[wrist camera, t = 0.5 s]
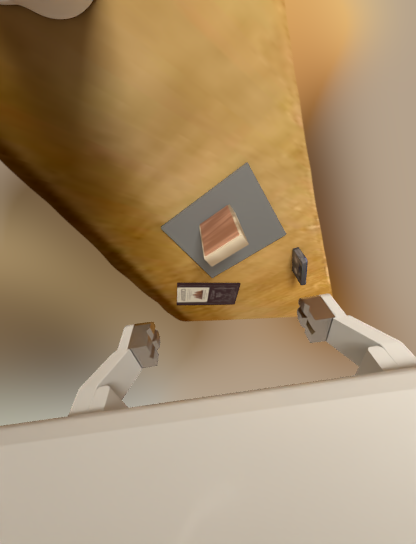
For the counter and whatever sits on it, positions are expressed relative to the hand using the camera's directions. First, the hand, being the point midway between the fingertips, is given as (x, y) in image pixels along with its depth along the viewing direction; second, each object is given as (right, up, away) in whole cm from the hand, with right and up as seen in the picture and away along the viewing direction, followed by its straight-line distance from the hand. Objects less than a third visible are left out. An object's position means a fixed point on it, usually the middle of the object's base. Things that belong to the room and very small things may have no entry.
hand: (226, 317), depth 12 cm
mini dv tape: (+23, +6, +47) cm, 53 cm away
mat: (+3, +12, +38) cm, 40 cm away
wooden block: (+1, +14, +35) cm, 38 cm away
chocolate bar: (-1, -4, +53) cm, 53 cm away
